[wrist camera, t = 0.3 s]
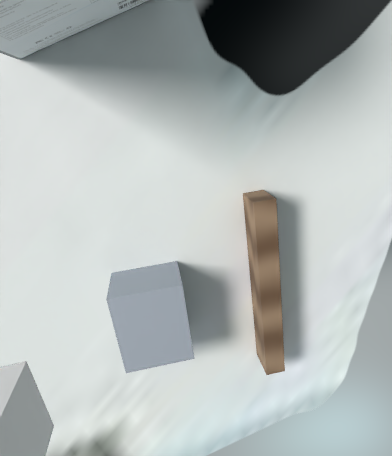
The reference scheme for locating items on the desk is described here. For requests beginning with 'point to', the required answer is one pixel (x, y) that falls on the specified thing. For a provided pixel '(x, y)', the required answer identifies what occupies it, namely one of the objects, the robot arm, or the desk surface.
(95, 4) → the hard drive box
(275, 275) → the walnut stop board
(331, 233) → the desk surface
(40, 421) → the robot arm
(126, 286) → the slate block
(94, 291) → the desk surface
